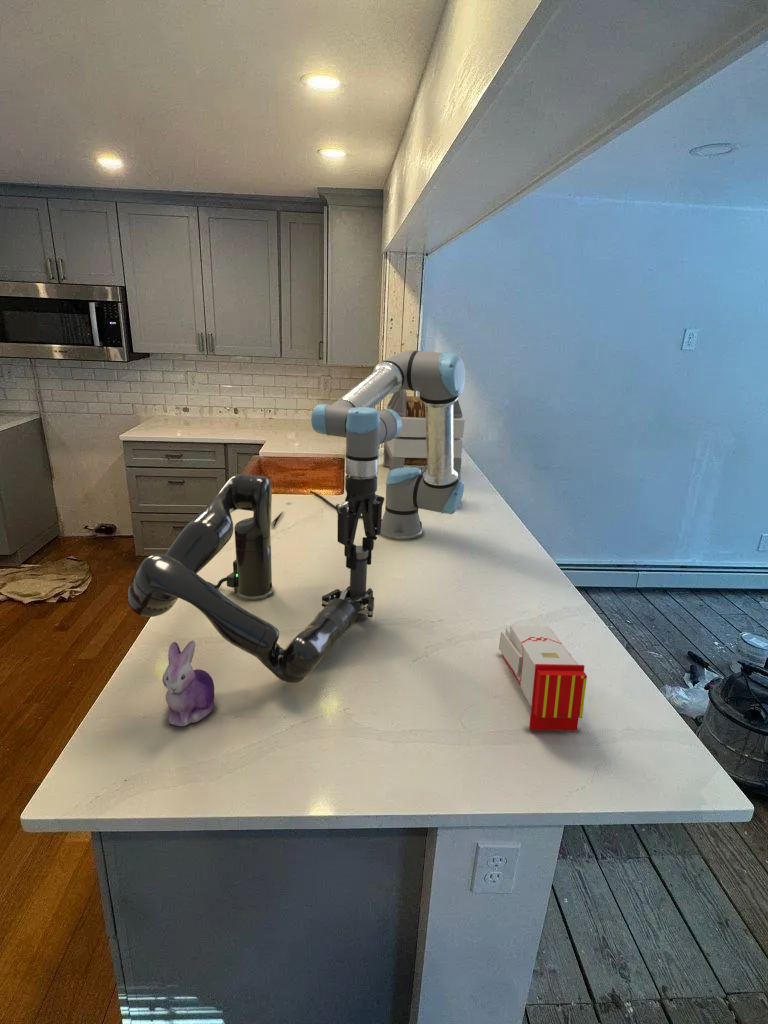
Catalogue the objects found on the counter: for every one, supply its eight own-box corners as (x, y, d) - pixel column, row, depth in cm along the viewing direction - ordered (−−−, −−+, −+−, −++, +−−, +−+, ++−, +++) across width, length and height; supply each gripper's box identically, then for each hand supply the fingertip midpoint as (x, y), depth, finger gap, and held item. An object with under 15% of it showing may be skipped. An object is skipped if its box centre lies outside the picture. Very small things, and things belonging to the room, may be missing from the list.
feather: (289, 506, 225) (292, 502, 225) (272, 529, 199) (275, 525, 198) (286, 503, 225) (288, 500, 225) (268, 527, 199) (271, 522, 198)
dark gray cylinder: (351, 621, 143) (353, 557, 137) (347, 613, 147) (348, 550, 140) (367, 619, 144) (369, 555, 138) (362, 611, 148) (364, 548, 142)
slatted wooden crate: (382, 463, 289) (386, 382, 275) (445, 464, 293) (451, 384, 279) (390, 482, 257) (394, 392, 243) (460, 483, 261) (468, 394, 247)
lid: (368, 552, 142) (368, 545, 141) (367, 559, 137) (368, 553, 137) (350, 551, 142) (350, 544, 141) (349, 559, 137) (349, 552, 137)
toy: (545, 610, 133) (596, 671, 104) (540, 662, 136) (588, 737, 106) (494, 609, 133) (530, 670, 103) (490, 662, 135) (524, 736, 106)
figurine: (169, 735, 103) (162, 665, 98) (162, 702, 111) (154, 636, 106) (222, 721, 107) (218, 653, 102) (211, 689, 115) (206, 625, 110)
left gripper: (305, 628, 134) (336, 596, 149) (361, 642, 130) (387, 608, 145) (305, 600, 132) (337, 571, 147) (362, 613, 127) (388, 582, 142)
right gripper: (378, 465, 141) (374, 551, 149) (321, 477, 129) (321, 569, 137) (399, 472, 136) (394, 561, 144) (342, 485, 124) (340, 580, 132)
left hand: (362, 589), depth 146 cm, fingers closed on dark gray cylinder, 4 cm apart
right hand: (358, 565), depth 140 cm, fingers closed on lid, 4 cm apart
